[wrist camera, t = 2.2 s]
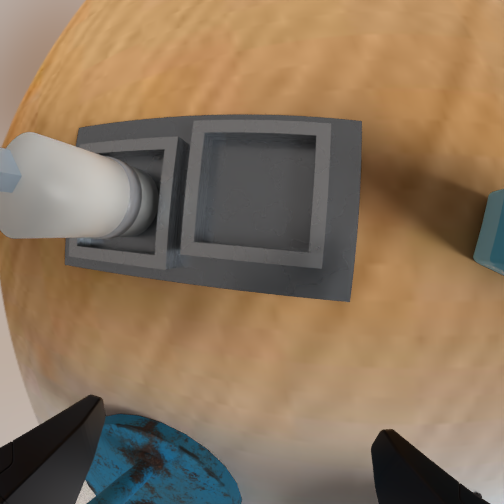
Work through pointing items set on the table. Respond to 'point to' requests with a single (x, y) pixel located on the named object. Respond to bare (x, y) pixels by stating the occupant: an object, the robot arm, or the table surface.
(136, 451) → the desk lamp
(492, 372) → the table surface
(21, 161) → the plug
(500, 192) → the data package
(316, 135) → the panel
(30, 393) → the table surface
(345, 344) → the table surface
